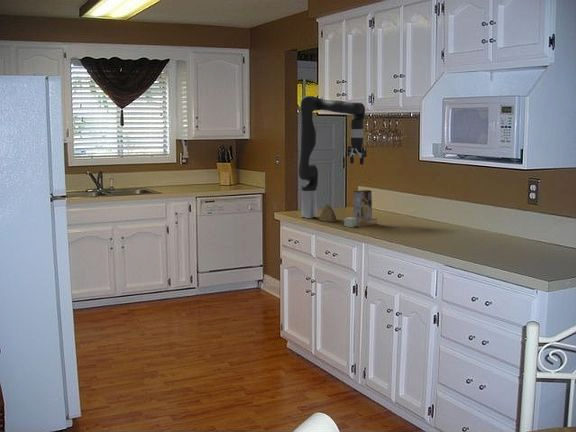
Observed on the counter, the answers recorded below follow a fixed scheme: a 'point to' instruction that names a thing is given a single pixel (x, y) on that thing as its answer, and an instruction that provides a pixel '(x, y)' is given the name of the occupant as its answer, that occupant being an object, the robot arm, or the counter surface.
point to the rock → (327, 214)
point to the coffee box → (362, 204)
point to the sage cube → (350, 222)
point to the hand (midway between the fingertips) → (356, 164)
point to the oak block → (366, 221)
